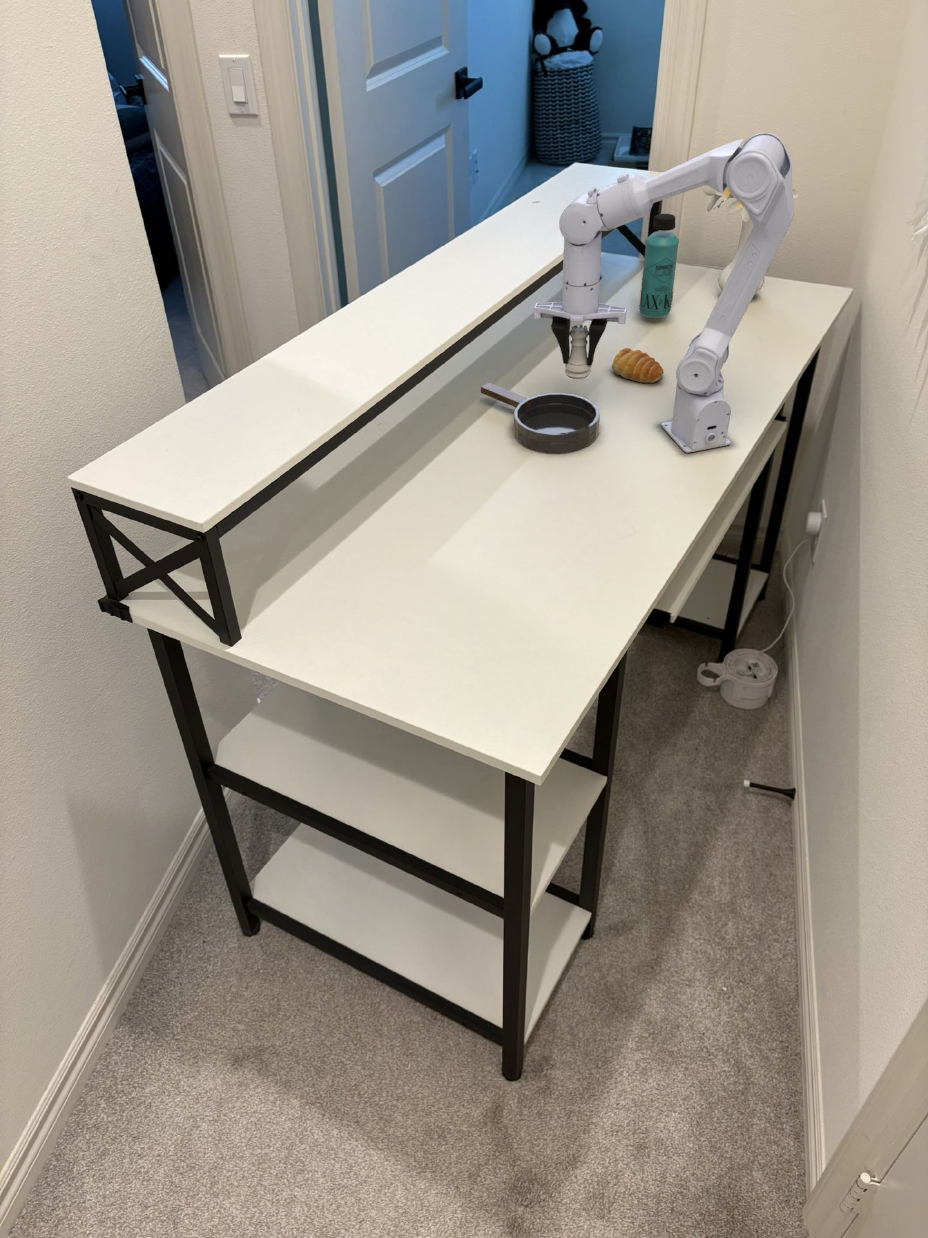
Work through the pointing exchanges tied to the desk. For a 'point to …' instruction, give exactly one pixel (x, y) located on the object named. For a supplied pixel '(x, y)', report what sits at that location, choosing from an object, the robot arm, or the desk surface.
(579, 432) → the pan
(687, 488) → the desk surface
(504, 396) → the pan handle
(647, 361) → the pastry
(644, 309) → the beverage bottle
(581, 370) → the rook chess piece
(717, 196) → the flower vase
